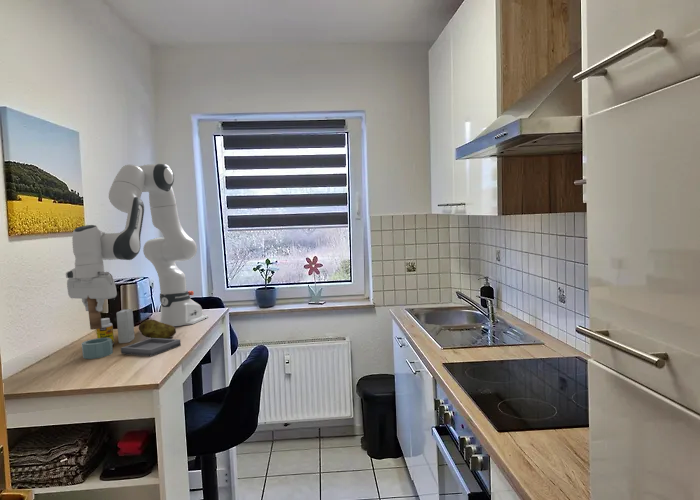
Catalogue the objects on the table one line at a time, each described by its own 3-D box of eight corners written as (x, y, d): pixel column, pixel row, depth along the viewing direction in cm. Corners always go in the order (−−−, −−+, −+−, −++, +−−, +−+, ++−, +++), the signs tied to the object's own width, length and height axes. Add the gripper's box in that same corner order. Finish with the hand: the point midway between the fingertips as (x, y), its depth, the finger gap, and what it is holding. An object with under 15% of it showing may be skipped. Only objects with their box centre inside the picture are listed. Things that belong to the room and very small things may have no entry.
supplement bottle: (99, 348, 184) (96, 321, 183) (97, 345, 188) (94, 319, 188) (115, 345, 187) (112, 318, 186) (113, 342, 191) (110, 316, 191)
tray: (152, 343, 186) (151, 337, 186) (180, 345, 180) (180, 339, 180) (121, 353, 173) (120, 347, 173) (151, 356, 168) (150, 349, 168)
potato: (172, 340, 189) (170, 319, 189) (137, 343, 188) (135, 322, 188) (177, 335, 198) (176, 315, 197) (144, 338, 196) (143, 318, 196)
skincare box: (123, 339, 196) (121, 309, 195) (135, 338, 196) (132, 308, 195) (118, 343, 189) (115, 312, 189) (130, 342, 190) (127, 311, 189)
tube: (100, 350, 180) (98, 337, 180) (118, 352, 176) (117, 338, 176) (77, 357, 172) (75, 343, 171) (95, 359, 168) (94, 345, 167)
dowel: (96, 326, 176) (93, 293, 175) (104, 327, 174) (100, 293, 173) (88, 329, 173) (84, 295, 172) (95, 329, 171) (91, 295, 170)
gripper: (119, 270, 171) (123, 309, 172) (78, 271, 179) (82, 308, 180) (103, 273, 165) (107, 313, 166) (62, 273, 173) (66, 312, 174)
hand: (94, 311), depth 173 cm, fingers closed on dowel, 4 cm apart
